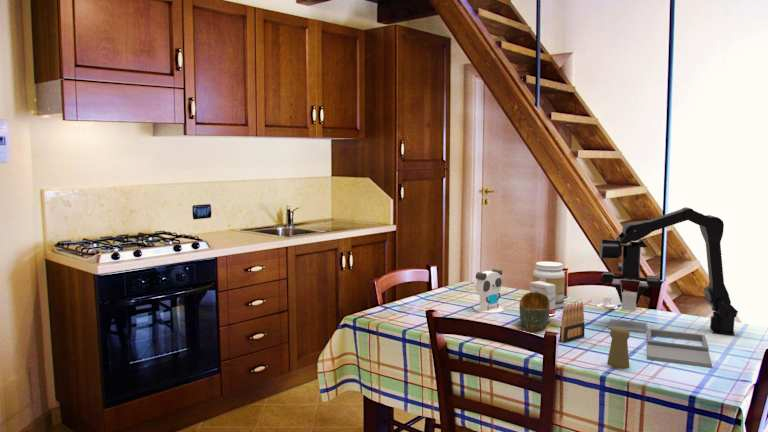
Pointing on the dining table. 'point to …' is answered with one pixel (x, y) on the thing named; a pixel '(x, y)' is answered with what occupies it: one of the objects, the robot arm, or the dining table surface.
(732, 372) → the dining table surface
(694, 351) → the gray rectangular frame
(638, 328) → the slate mat
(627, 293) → the block
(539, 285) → the ink box
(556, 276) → the supplement tub
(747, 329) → the dining table surface
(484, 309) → the panda figurine
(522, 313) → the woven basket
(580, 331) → the ammunition clip
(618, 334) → the brown tapered mill
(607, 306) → the teacup and saucer
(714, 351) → the dining table surface
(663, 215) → the robot arm
